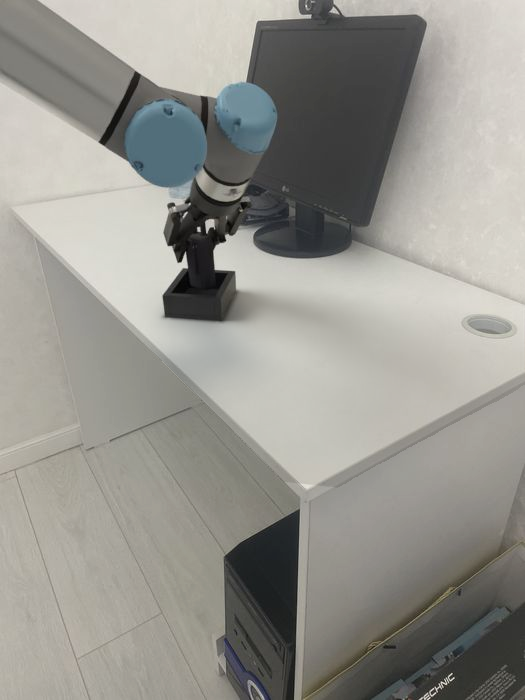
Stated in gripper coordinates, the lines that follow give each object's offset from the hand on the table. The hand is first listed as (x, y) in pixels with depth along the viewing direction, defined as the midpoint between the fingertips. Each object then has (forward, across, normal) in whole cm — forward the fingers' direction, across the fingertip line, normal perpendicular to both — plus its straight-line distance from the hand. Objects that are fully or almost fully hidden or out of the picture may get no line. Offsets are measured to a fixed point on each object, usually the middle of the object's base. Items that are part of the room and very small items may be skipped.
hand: (192, 253), depth 95 cm
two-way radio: (+1, 0, -6) cm, 7 cm away
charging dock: (+4, 0, -9) cm, 9 cm away
